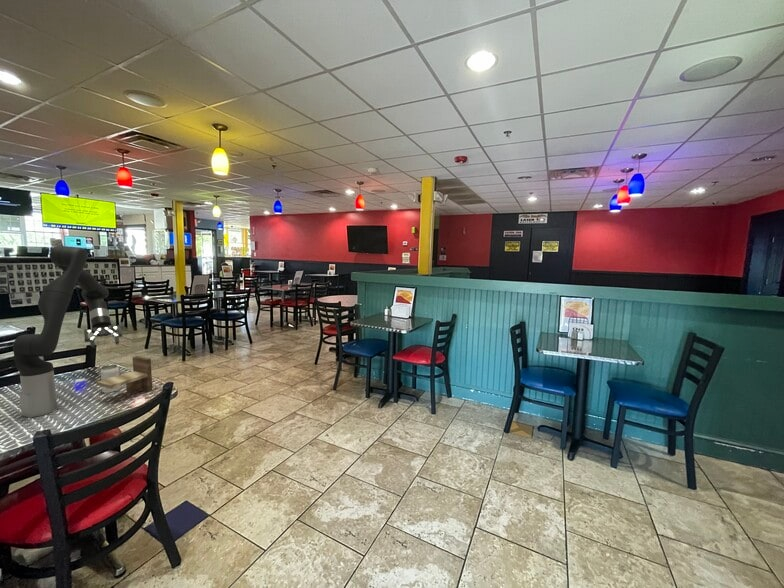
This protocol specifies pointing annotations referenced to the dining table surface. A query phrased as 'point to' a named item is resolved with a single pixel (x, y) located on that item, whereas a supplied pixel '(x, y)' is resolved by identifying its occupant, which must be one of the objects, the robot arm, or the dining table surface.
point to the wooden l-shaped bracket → (133, 377)
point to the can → (109, 376)
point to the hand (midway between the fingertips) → (105, 345)
